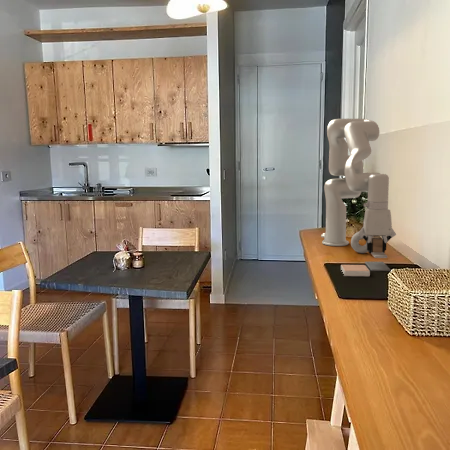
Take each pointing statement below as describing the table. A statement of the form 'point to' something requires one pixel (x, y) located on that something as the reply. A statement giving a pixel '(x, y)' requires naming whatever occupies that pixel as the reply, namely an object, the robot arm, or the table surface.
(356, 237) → the donut
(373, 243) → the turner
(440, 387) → the table surface
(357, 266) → the tile
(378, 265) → the mat
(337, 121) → the robot arm
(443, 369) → the table surface
